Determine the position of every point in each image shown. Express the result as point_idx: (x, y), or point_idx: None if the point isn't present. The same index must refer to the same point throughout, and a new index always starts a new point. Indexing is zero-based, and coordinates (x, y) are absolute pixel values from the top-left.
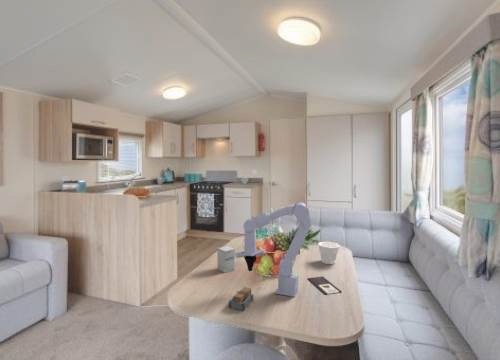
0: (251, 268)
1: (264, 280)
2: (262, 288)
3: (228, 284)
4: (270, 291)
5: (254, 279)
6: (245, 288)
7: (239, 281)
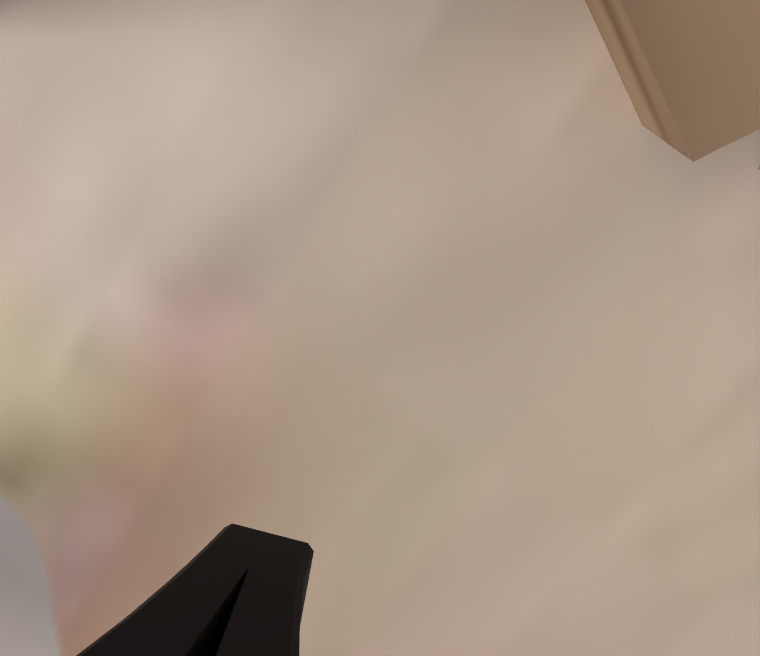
0: (223, 576)
1: (14, 440)
2: (165, 233)
3: (586, 639)
4: (84, 51)
5: (142, 546)
6: (731, 71)
7: (380, 619)
